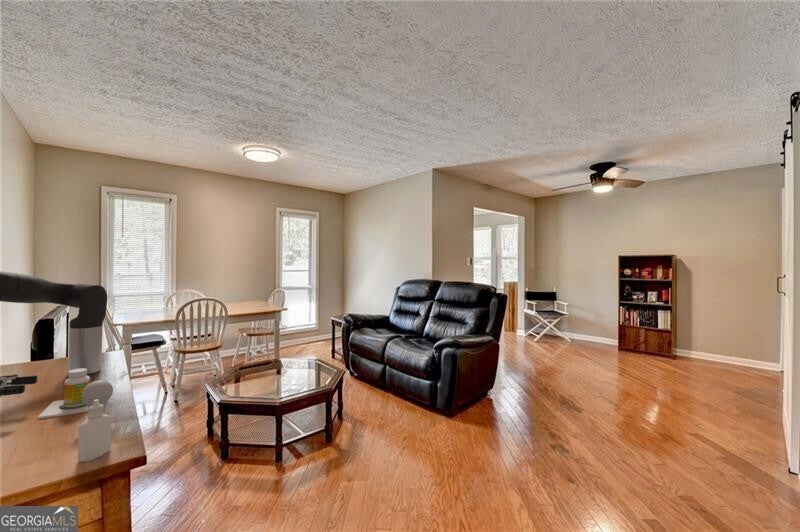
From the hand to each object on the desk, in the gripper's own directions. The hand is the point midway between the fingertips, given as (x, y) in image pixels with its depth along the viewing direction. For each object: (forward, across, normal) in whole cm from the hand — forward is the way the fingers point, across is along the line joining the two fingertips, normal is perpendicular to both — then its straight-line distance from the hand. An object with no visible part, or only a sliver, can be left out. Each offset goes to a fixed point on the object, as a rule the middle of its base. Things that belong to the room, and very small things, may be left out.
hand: (30, 383), depth 92 cm
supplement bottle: (+10, 0, +8) cm, 12 cm away
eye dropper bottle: (+20, -35, +8) cm, 41 cm away
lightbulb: (+17, -16, +8) cm, 24 cm away
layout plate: (+10, 0, +8) cm, 12 cm away
